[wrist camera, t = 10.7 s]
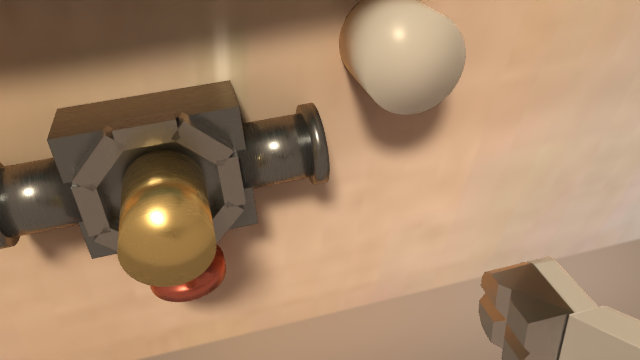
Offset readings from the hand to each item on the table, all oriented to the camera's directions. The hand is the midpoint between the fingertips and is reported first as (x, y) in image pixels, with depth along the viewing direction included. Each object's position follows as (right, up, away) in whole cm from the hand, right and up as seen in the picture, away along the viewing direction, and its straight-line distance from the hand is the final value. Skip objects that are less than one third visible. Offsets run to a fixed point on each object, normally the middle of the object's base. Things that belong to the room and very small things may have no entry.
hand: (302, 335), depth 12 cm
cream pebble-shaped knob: (+4, +12, +23) cm, 27 cm away
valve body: (-9, +4, +24) cm, 26 cm away
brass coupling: (-8, +3, +20) cm, 22 cm away
